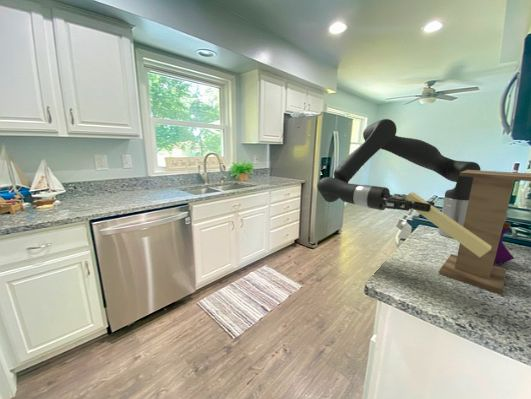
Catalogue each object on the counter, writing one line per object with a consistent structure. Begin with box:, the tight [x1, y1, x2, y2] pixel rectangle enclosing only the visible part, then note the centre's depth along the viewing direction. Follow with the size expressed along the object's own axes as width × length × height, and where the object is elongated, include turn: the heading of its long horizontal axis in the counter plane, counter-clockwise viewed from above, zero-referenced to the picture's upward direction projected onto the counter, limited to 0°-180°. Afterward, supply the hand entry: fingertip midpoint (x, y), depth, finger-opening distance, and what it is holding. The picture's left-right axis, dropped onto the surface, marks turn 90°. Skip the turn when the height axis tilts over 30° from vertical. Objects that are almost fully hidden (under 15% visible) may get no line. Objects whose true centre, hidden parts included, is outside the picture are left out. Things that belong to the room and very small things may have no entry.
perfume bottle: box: [494, 211, 515, 265], centre depth 79 cm, size 8×8×18 cm
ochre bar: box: [406, 191, 492, 257], centre depth 63 cm, size 3×22×3 cm
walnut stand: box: [438, 170, 531, 295], centre depth 69 cm, size 16×14×32 cm
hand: (431, 207), depth 64 cm, fingers closed on ochre bar, 3 cm apart
